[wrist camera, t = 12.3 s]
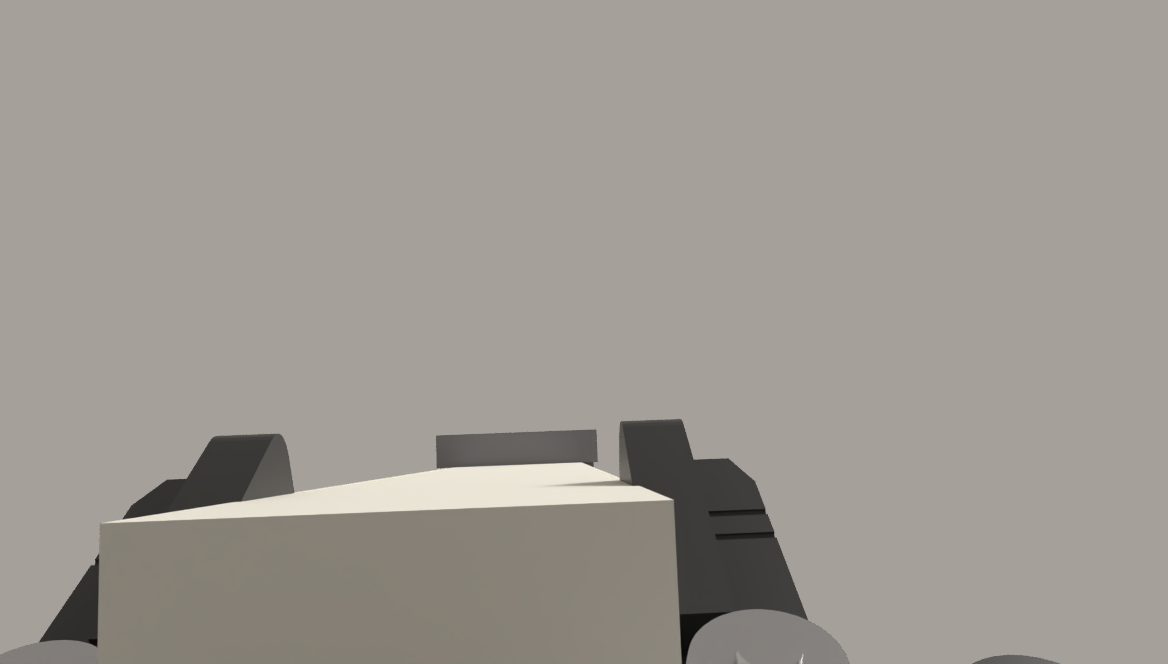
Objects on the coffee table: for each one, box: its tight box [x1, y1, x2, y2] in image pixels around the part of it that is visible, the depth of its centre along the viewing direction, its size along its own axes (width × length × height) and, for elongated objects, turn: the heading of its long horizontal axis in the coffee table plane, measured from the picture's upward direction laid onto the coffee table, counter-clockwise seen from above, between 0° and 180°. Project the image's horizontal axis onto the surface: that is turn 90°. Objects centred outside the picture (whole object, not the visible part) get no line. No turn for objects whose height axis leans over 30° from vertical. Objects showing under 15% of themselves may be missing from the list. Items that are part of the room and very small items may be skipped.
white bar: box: [97, 430, 682, 664], centre depth 21 cm, size 5×29×6 cm, turn 2°
